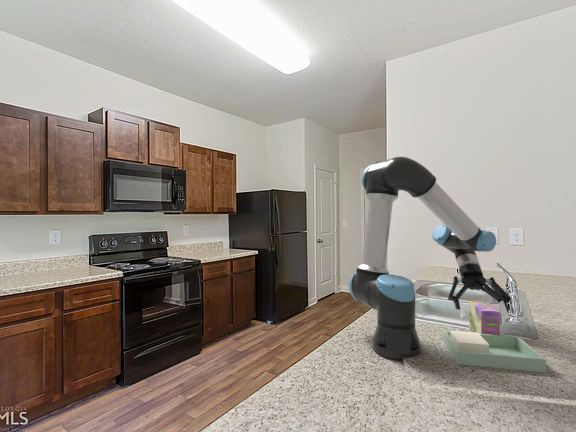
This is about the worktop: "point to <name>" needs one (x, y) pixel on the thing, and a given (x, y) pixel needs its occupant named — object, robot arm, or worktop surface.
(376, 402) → the worktop surface
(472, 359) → the tote
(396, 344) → the robot arm
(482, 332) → the box
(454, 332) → the carton
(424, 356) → the worktop surface
